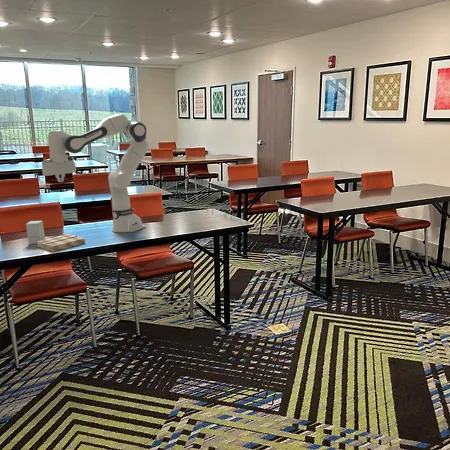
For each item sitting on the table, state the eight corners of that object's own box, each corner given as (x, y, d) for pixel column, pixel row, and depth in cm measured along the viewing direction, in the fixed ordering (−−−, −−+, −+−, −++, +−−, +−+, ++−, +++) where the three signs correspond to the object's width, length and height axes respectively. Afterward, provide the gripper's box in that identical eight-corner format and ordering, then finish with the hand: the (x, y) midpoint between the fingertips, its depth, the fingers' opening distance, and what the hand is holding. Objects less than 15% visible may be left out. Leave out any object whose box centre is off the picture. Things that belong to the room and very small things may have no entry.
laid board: (77, 241, 251) (76, 235, 250) (85, 243, 246) (84, 237, 245) (46, 249, 236) (45, 243, 235) (53, 251, 231) (53, 245, 230)
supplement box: (45, 240, 255) (43, 220, 252) (41, 243, 247) (38, 223, 244) (33, 241, 254) (30, 220, 251) (28, 244, 247) (25, 223, 244)
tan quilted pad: (68, 238, 256) (68, 233, 255) (77, 241, 251) (76, 235, 250) (37, 246, 241) (37, 240, 240) (45, 249, 236) (45, 243, 235)
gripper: (44, 159, 238) (47, 184, 241) (76, 157, 253) (78, 180, 256) (38, 159, 241) (41, 183, 245) (70, 157, 257) (72, 179, 260)
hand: (60, 181), depth 251 cm, fingers closed
